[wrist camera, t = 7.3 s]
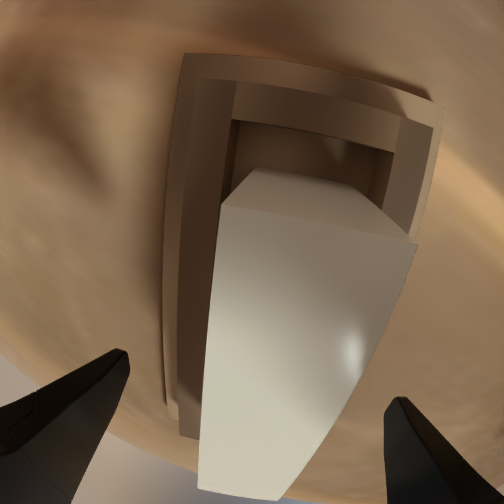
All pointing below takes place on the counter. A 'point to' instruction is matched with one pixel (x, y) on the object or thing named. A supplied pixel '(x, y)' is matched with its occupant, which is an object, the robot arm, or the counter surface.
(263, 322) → the white rectangular block
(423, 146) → the rack
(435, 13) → the counter surface
